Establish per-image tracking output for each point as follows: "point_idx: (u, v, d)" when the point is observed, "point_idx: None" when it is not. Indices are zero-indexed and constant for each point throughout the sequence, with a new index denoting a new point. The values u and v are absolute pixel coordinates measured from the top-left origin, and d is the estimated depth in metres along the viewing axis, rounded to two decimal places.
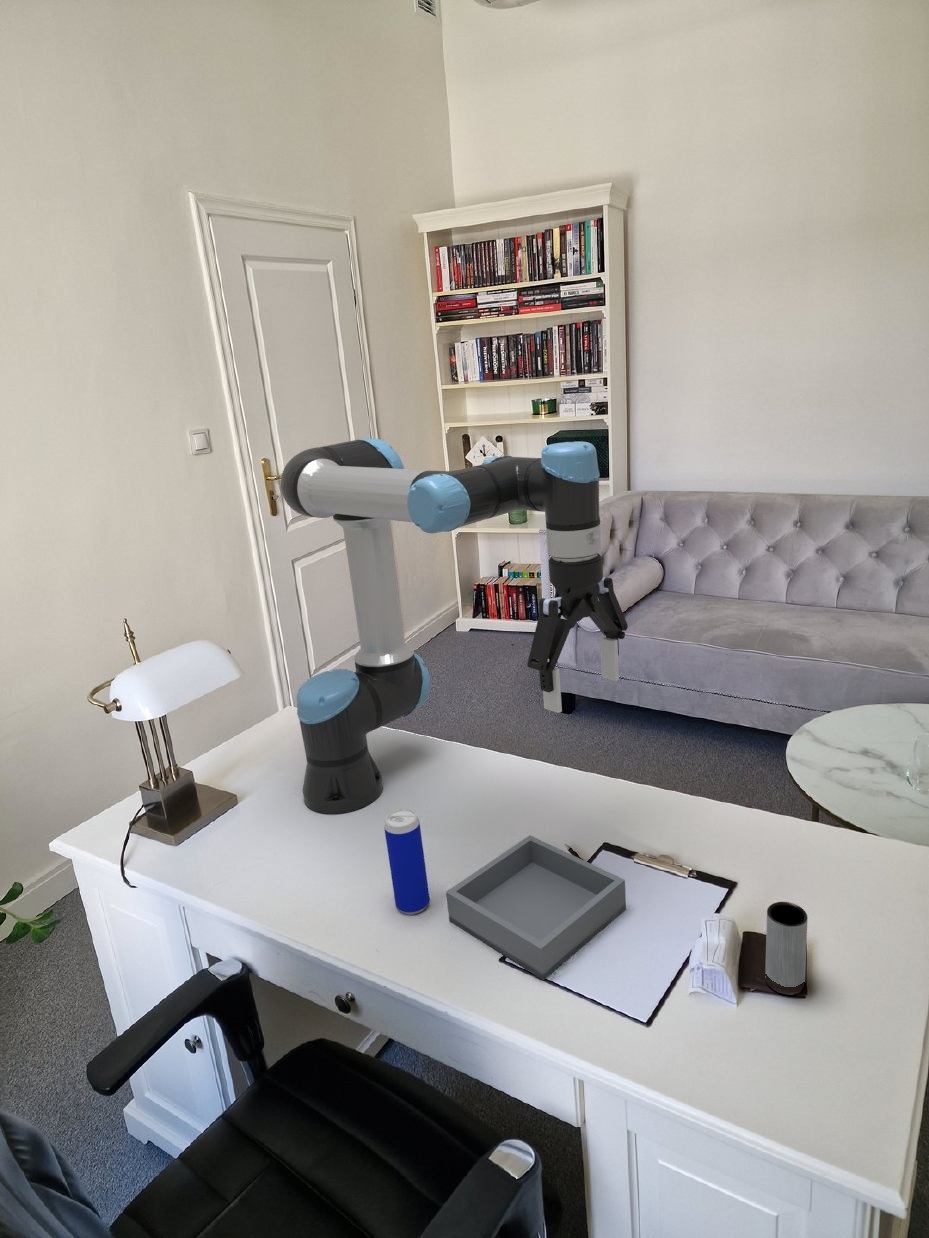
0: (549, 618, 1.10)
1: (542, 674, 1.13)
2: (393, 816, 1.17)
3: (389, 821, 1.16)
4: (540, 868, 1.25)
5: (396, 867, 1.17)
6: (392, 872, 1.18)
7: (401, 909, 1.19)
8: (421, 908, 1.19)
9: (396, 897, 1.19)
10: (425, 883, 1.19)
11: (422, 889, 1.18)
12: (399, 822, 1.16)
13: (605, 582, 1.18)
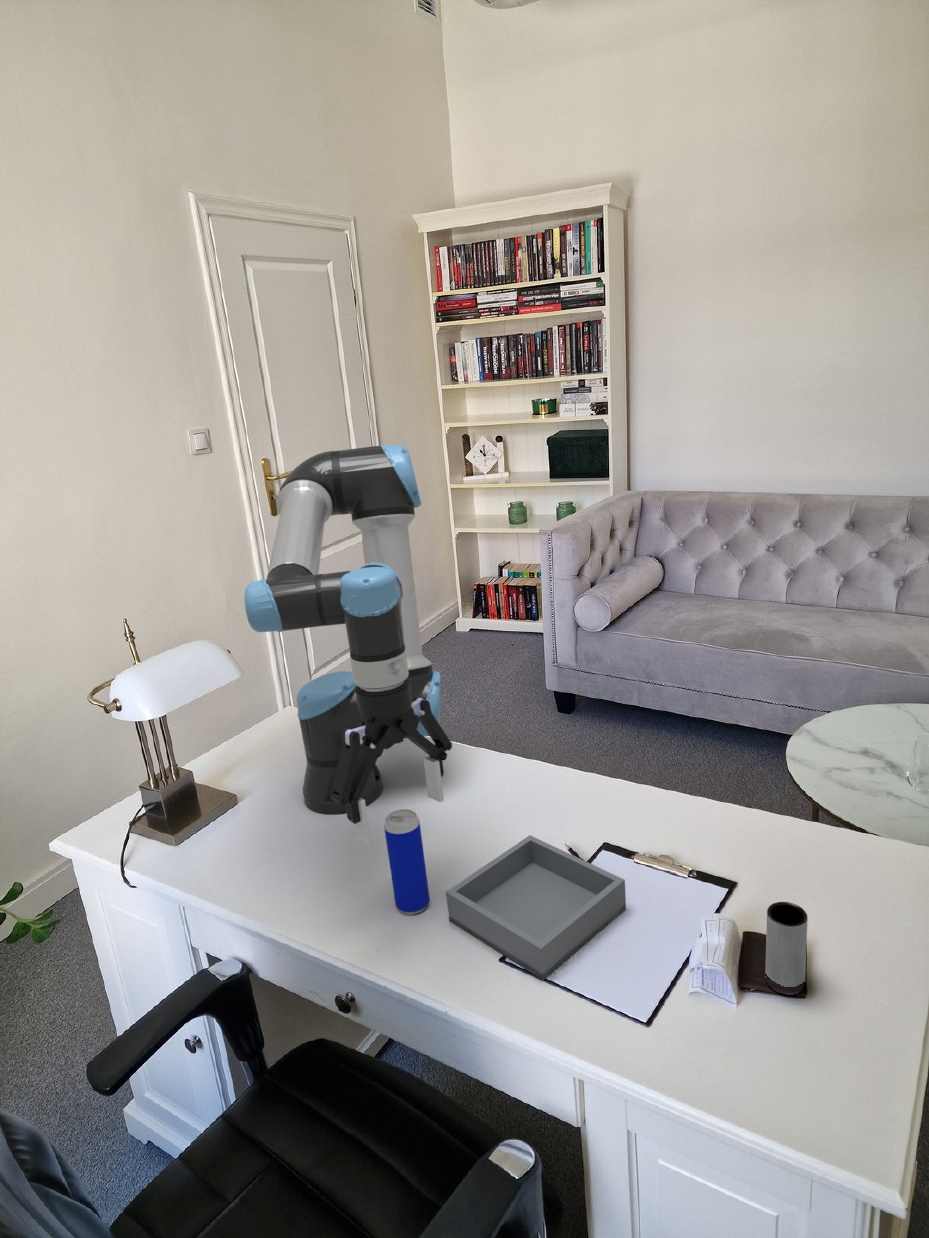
0: (350, 750, 1.07)
1: (347, 805, 1.09)
2: (393, 816, 1.17)
3: (389, 821, 1.16)
4: (540, 868, 1.25)
5: (396, 867, 1.17)
6: (392, 872, 1.18)
7: (401, 909, 1.19)
8: (421, 908, 1.19)
9: (396, 897, 1.19)
10: (425, 883, 1.19)
11: (422, 889, 1.18)
12: (399, 822, 1.16)
13: (421, 705, 1.15)
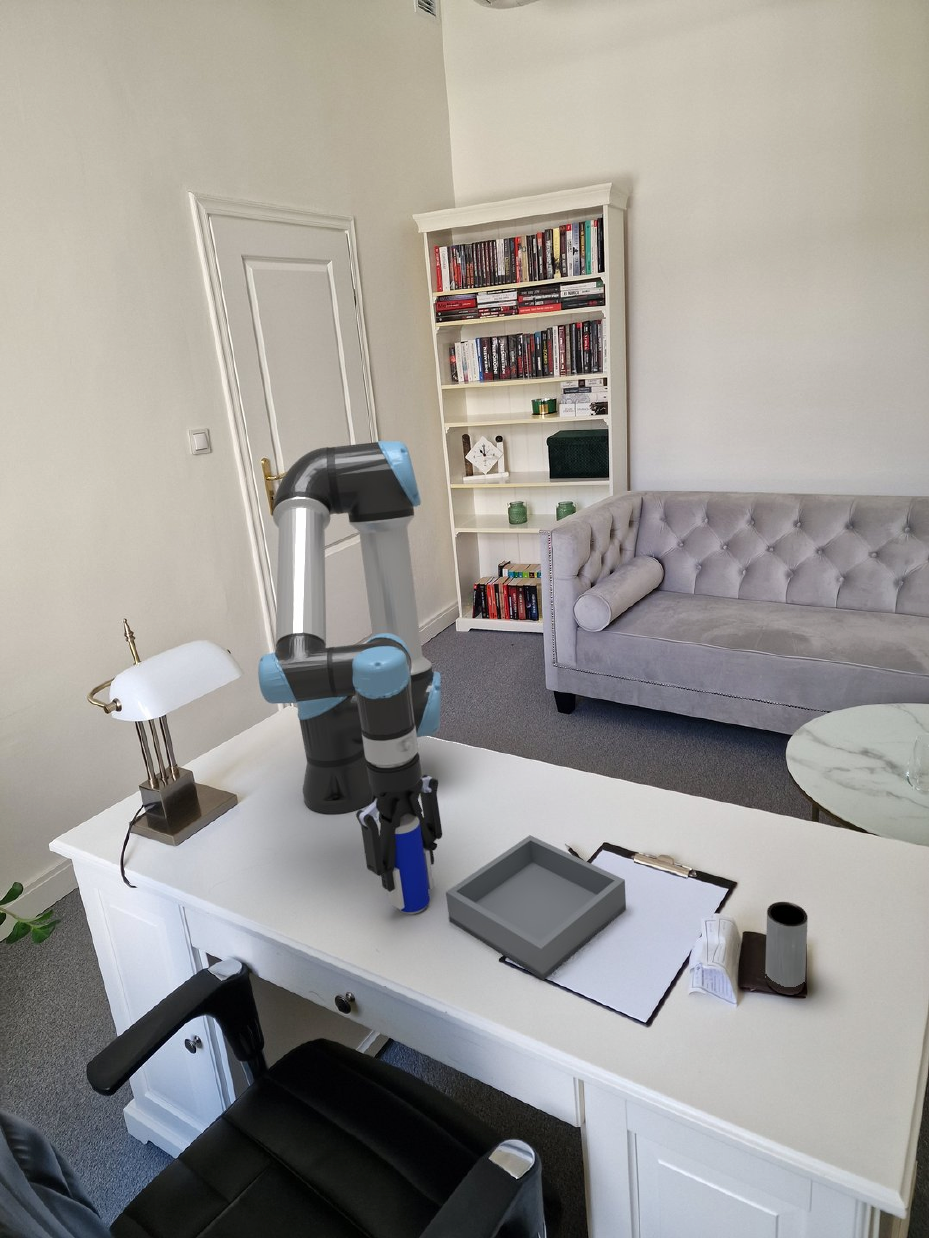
0: (369, 831, 1.12)
1: (382, 874, 1.16)
2: None
3: None
4: (540, 868, 1.25)
5: (396, 867, 1.17)
6: None
7: (401, 909, 1.19)
8: (421, 908, 1.19)
9: None
10: (425, 883, 1.19)
11: (422, 889, 1.18)
12: None
13: (430, 782, 1.18)
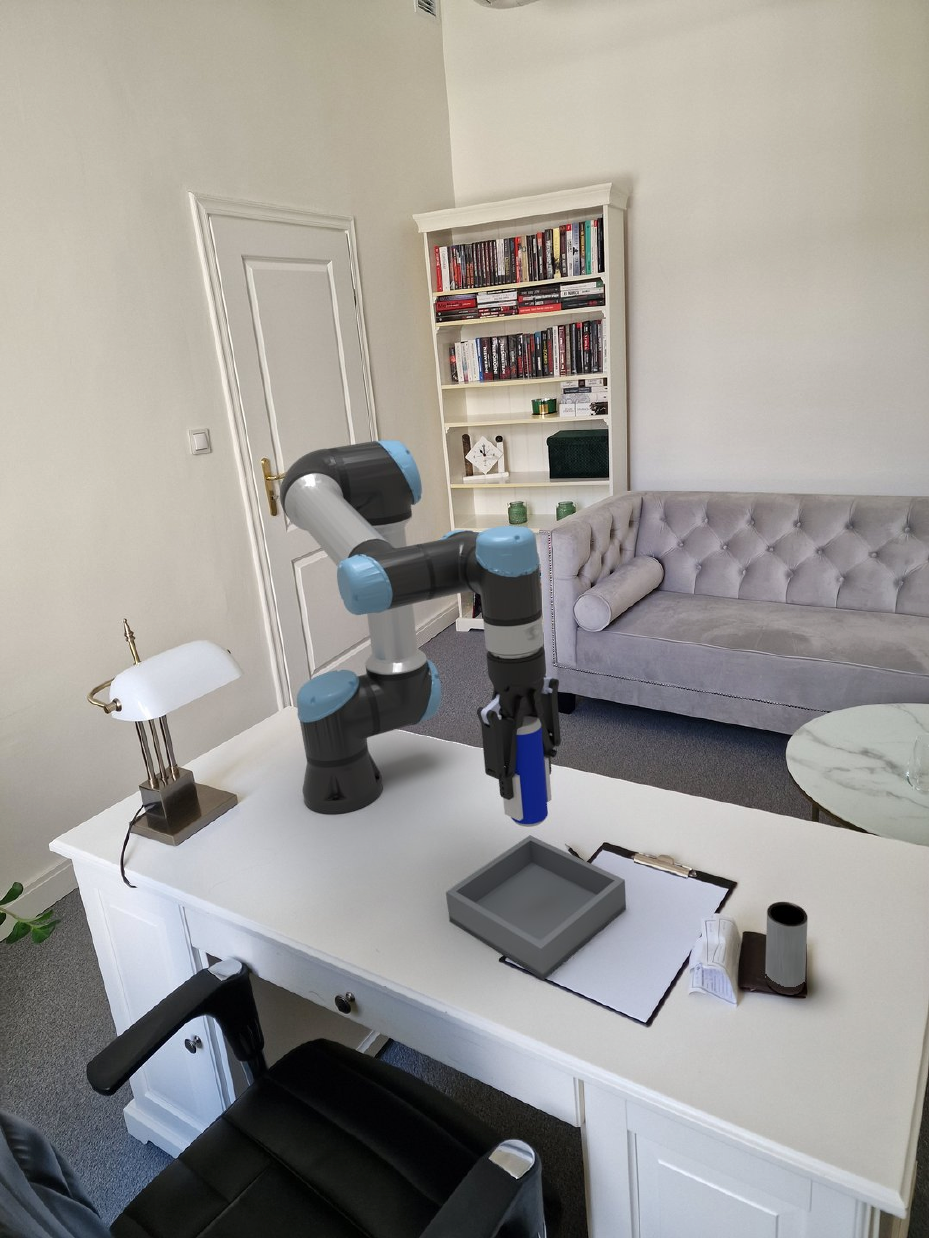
0: (492, 729, 1.02)
1: (501, 781, 1.06)
2: None
3: None
4: (540, 868, 1.25)
5: (516, 773, 1.07)
6: None
7: (519, 821, 1.09)
8: (540, 820, 1.09)
9: None
10: (545, 792, 1.09)
11: (542, 798, 1.08)
12: None
13: (551, 682, 1.08)
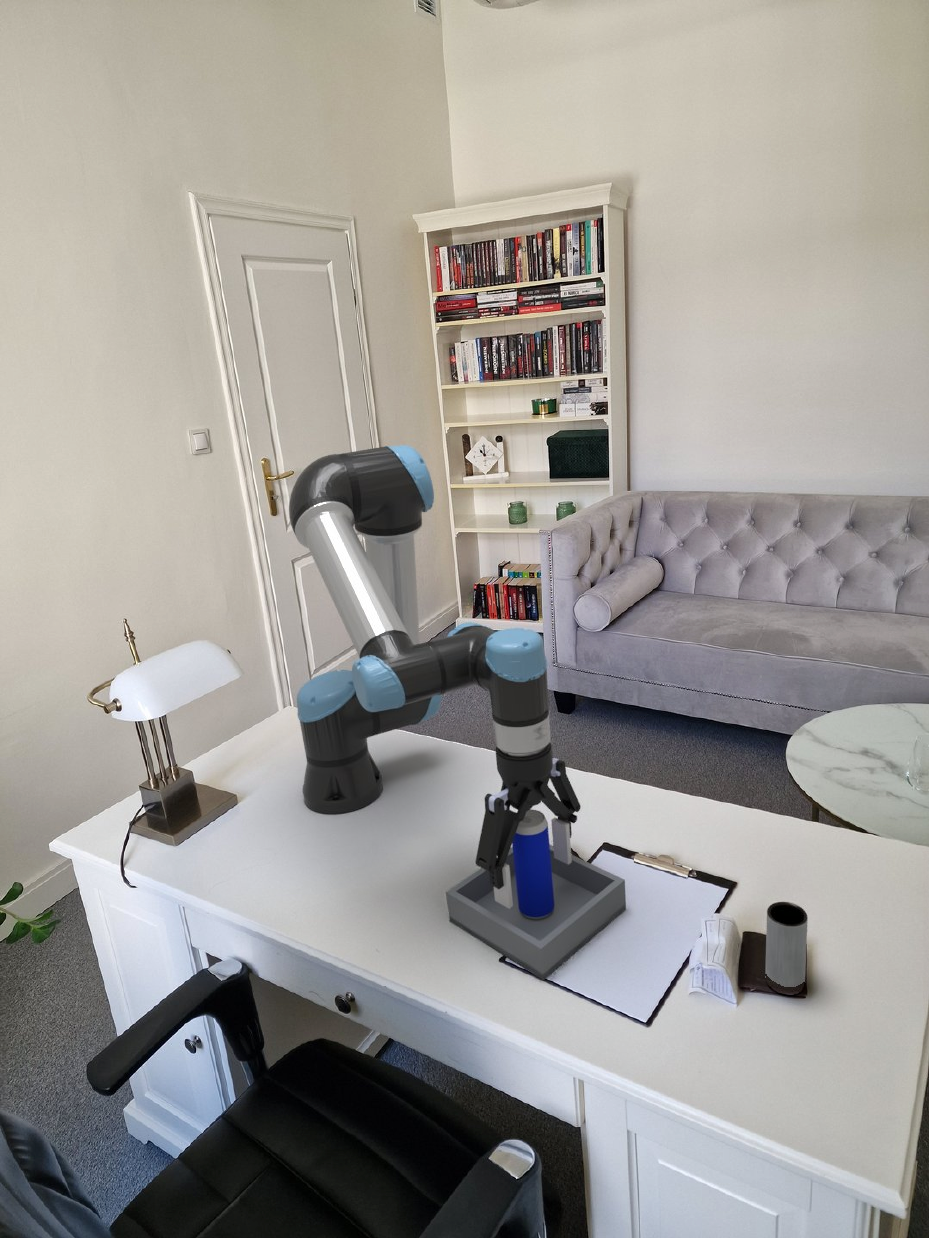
0: (495, 817, 1.05)
1: (491, 871, 1.08)
2: None
3: None
4: None
5: (524, 870, 1.11)
6: (518, 875, 1.13)
7: (527, 914, 1.14)
8: (548, 913, 1.14)
9: (521, 901, 1.14)
10: (552, 886, 1.14)
11: (549, 892, 1.13)
12: (527, 823, 1.11)
13: (557, 765, 1.12)
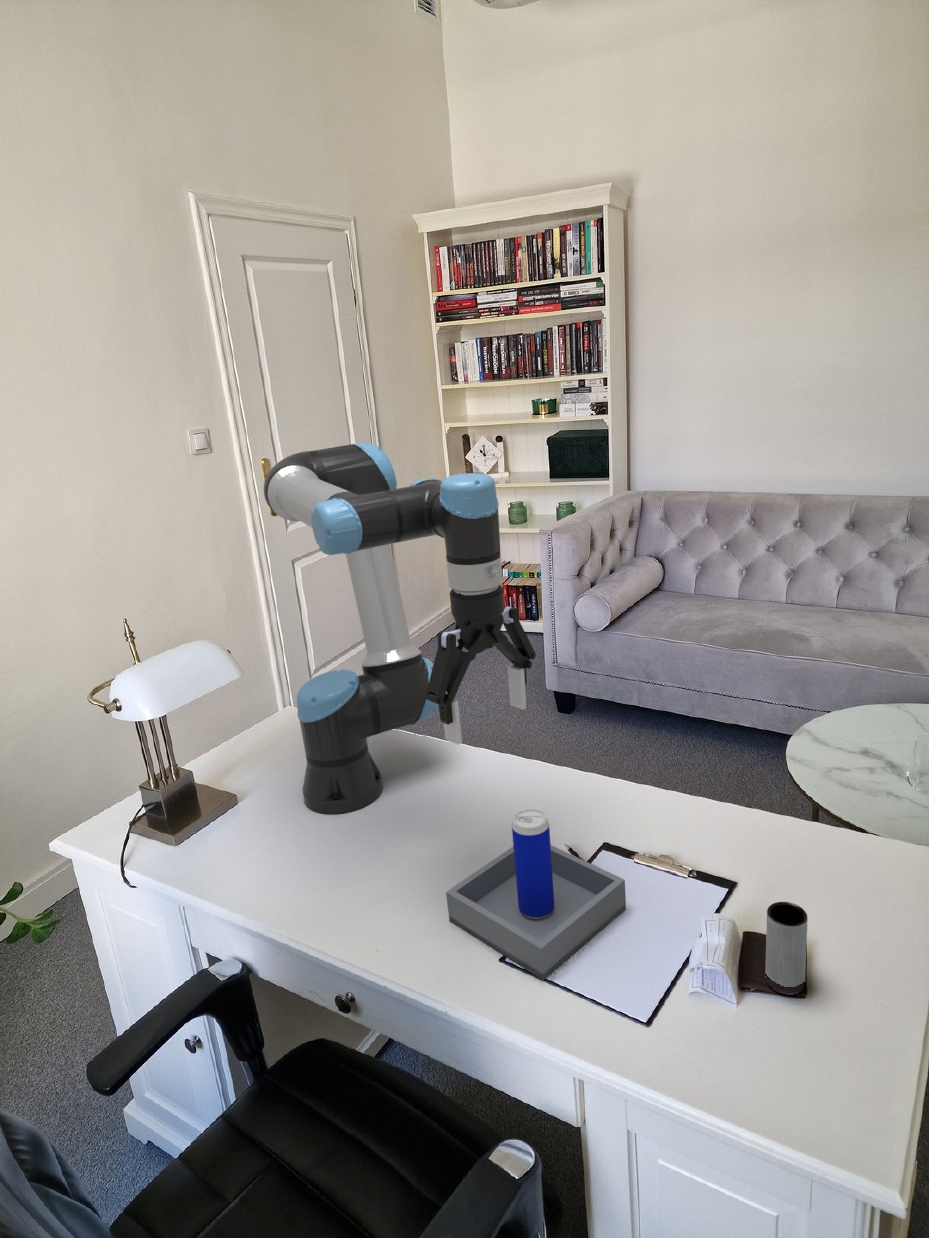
0: (447, 651, 1.10)
1: (441, 706, 1.12)
2: (520, 817, 1.12)
3: (518, 822, 1.11)
4: None
5: (524, 870, 1.11)
6: (519, 875, 1.12)
7: (527, 914, 1.14)
8: (548, 913, 1.14)
9: (521, 901, 1.14)
10: (552, 886, 1.14)
11: (549, 892, 1.13)
12: (529, 823, 1.10)
13: (510, 612, 1.17)
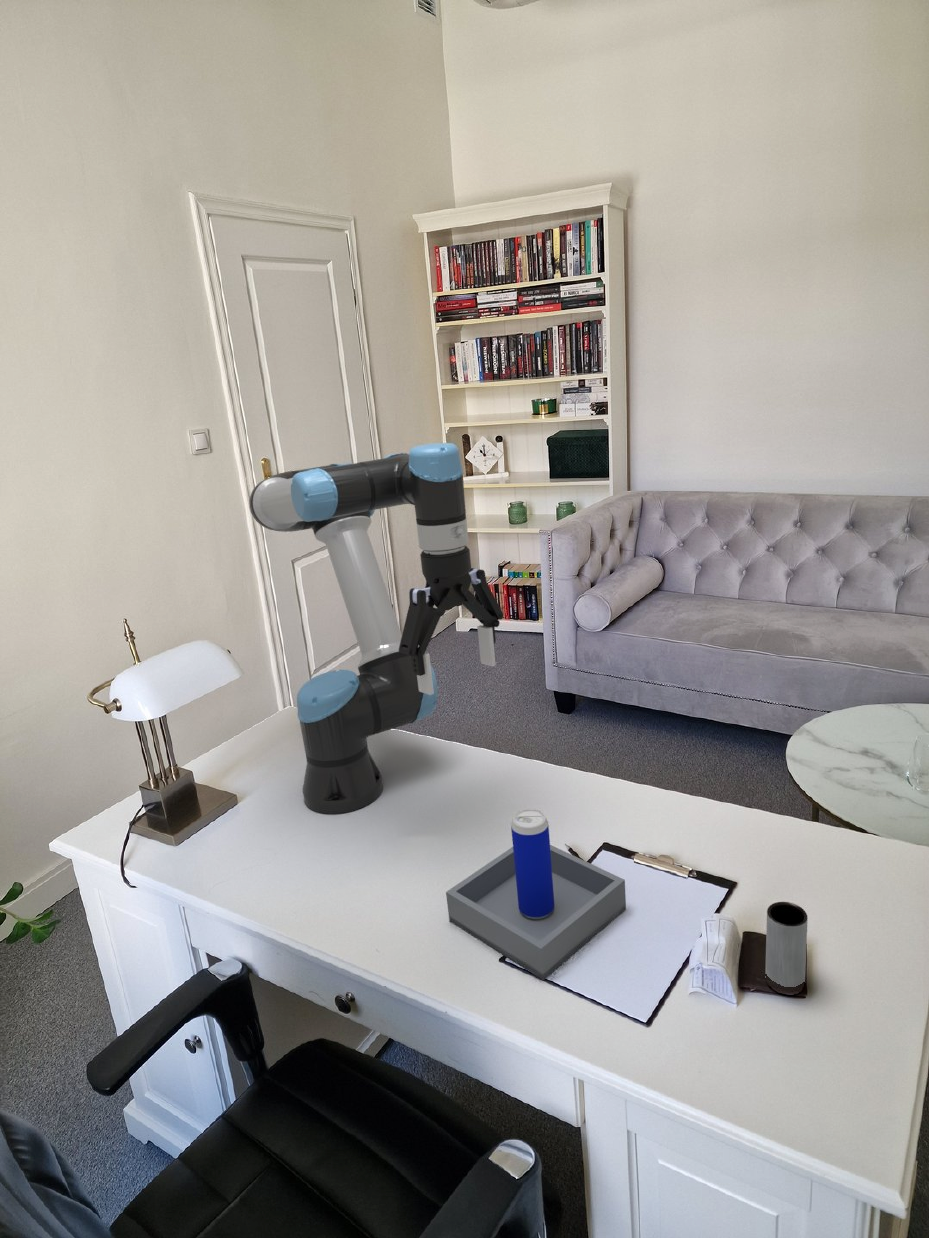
0: (417, 606, 1.19)
1: (413, 659, 1.22)
2: (519, 816, 1.12)
3: (517, 822, 1.11)
4: None
5: (524, 869, 1.11)
6: (518, 875, 1.13)
7: (527, 914, 1.14)
8: (548, 913, 1.14)
9: (521, 901, 1.14)
10: (552, 886, 1.14)
11: (549, 892, 1.13)
12: (528, 823, 1.11)
13: (477, 574, 1.27)
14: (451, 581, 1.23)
